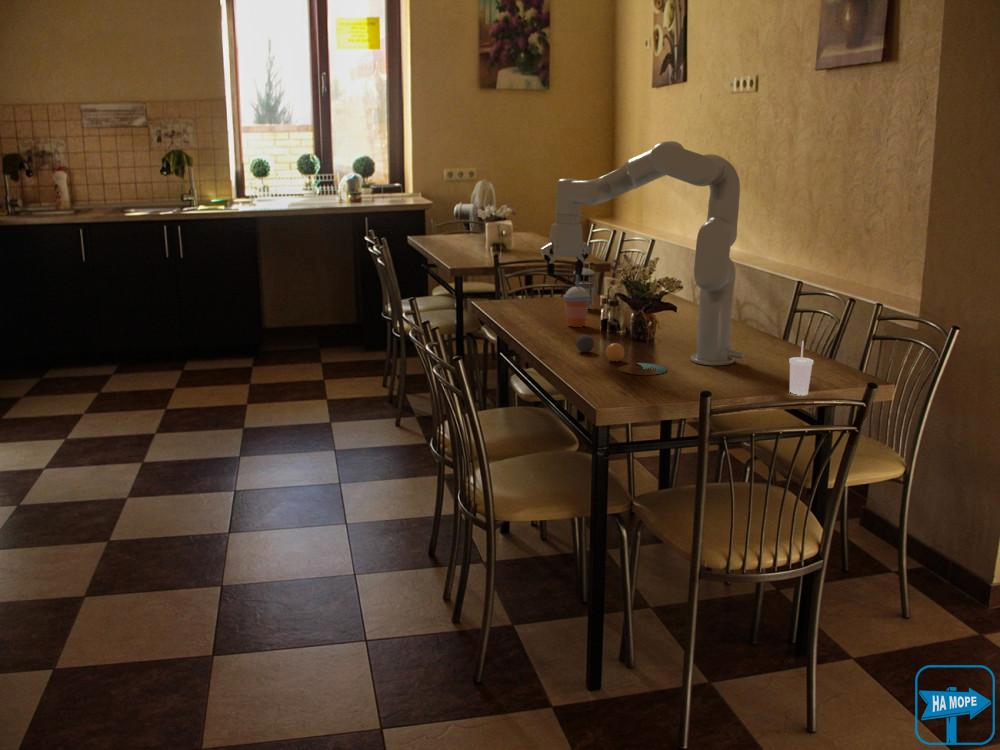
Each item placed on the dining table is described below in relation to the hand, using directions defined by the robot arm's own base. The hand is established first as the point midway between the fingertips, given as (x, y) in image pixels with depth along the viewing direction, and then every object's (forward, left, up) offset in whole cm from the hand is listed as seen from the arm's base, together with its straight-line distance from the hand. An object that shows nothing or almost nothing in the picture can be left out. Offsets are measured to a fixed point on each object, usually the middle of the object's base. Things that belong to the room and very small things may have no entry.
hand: (564, 275), depth 302 cm
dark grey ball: (-9, +4, -20) cm, 22 cm away
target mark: (-32, +17, -23) cm, 43 cm away
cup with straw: (+8, -32, -23) cm, 40 cm away
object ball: (-21, +11, -20) cm, 31 cm away
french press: (+17, -64, -23) cm, 70 cm away
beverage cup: (-76, +23, -23) cm, 83 cm away
